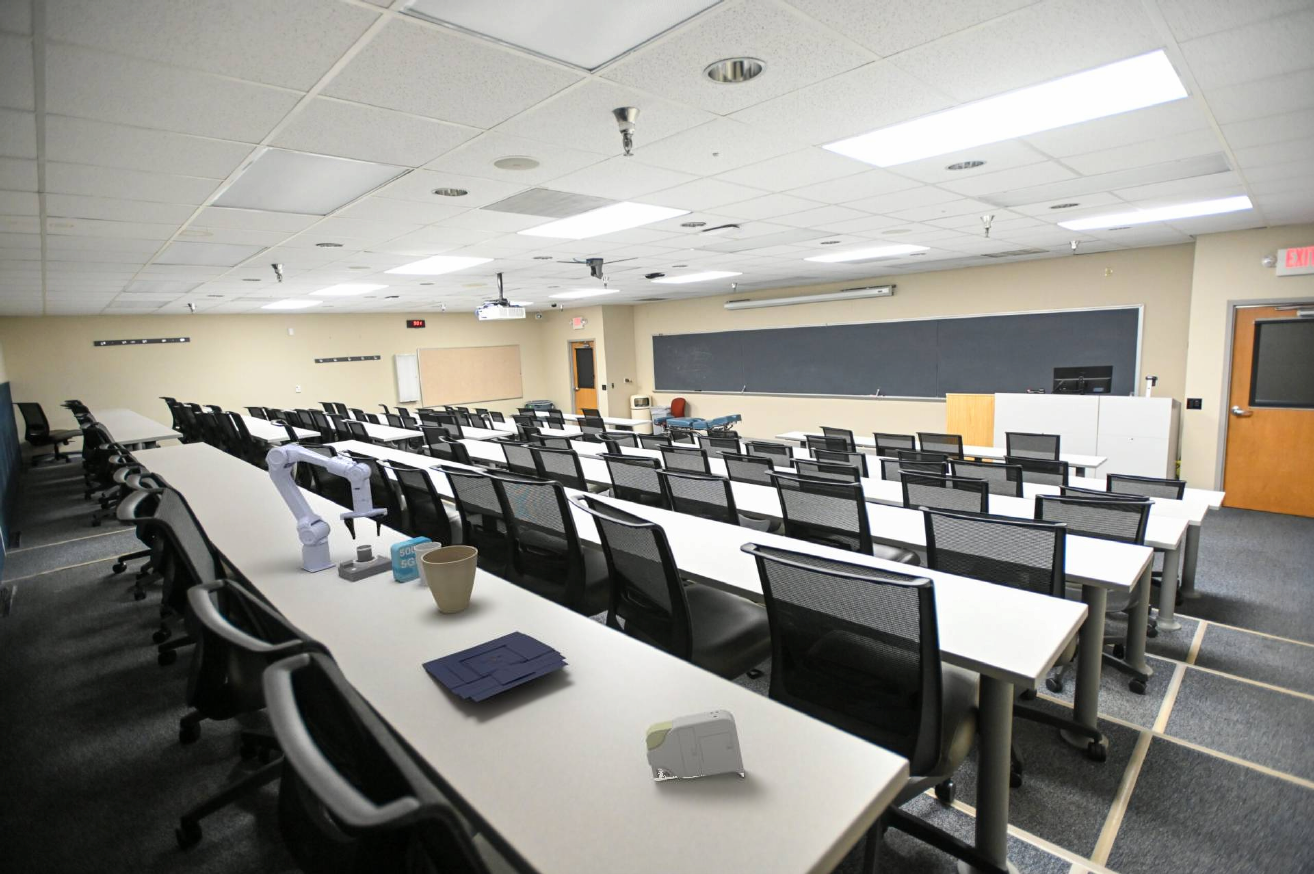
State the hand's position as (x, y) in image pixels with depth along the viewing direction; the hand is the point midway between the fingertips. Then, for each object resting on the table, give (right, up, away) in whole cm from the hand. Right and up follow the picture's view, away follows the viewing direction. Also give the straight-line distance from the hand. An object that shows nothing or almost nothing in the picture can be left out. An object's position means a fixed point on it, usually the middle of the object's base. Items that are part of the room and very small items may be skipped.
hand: (366, 537), depth 208 cm
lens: (+3, -8, -7) cm, 11 cm away
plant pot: (+44, -14, -39) cm, 60 cm away
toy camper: (+107, -21, -110) cm, 155 cm away
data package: (+22, -11, -12) cm, 27 cm away
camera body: (+3, -11, -6) cm, 13 cm away
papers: (+65, -18, -74) cm, 100 cm away
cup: (+29, -12, -18) cm, 37 cm away
